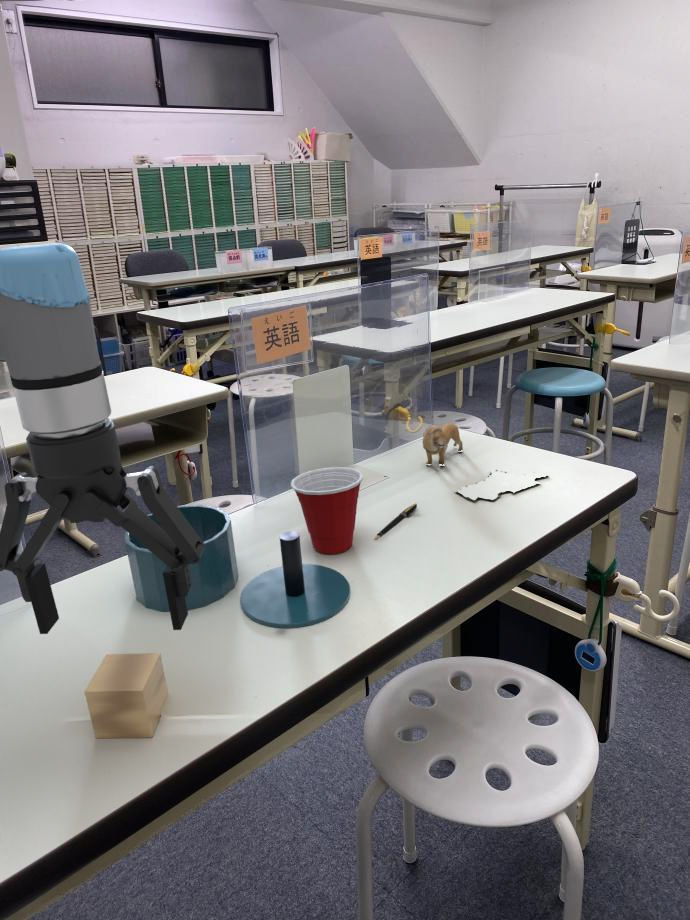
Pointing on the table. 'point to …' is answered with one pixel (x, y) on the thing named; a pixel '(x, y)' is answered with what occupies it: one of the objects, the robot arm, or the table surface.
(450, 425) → the lion figurine
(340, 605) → the lid
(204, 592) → the tin
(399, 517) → the fountain pen
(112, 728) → the block
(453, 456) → the table surface
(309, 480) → the plastic cup
